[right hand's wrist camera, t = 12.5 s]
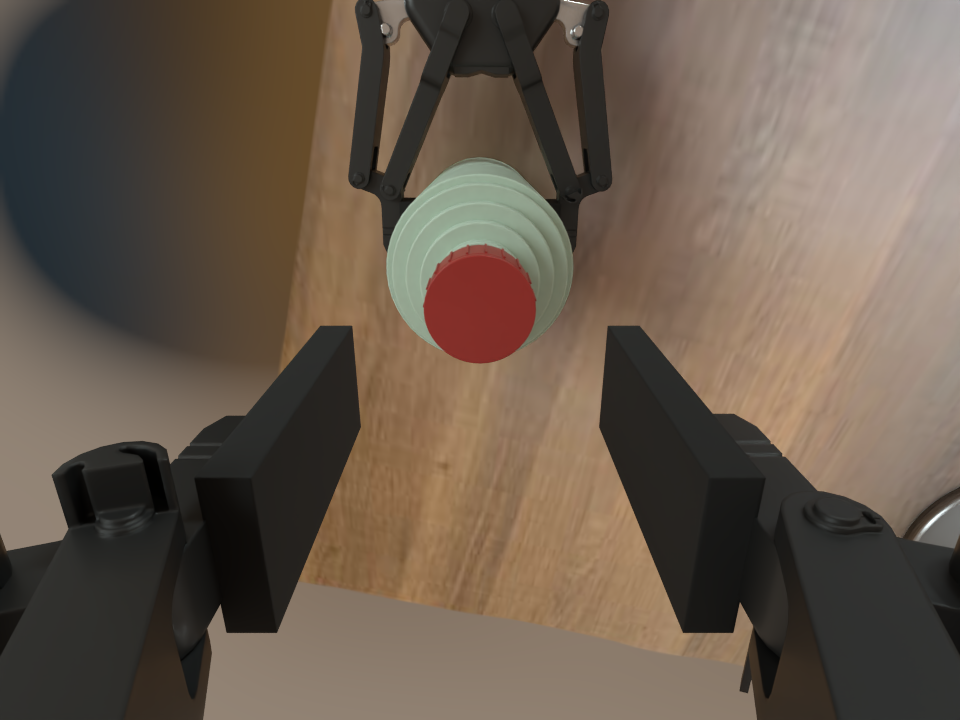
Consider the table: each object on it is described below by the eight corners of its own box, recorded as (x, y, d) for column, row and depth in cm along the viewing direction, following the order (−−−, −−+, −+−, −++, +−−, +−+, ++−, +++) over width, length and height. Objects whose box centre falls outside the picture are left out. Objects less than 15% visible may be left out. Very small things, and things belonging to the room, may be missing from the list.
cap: (431, 236, 21) (426, 247, 19) (540, 248, 21) (546, 260, 19) (423, 339, 22) (417, 358, 20) (525, 350, 22) (529, 370, 20)
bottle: (428, 150, 40) (365, 171, 18) (543, 164, 41) (619, 199, 19) (419, 265, 43) (357, 403, 21) (527, 277, 44) (576, 424, 22)
